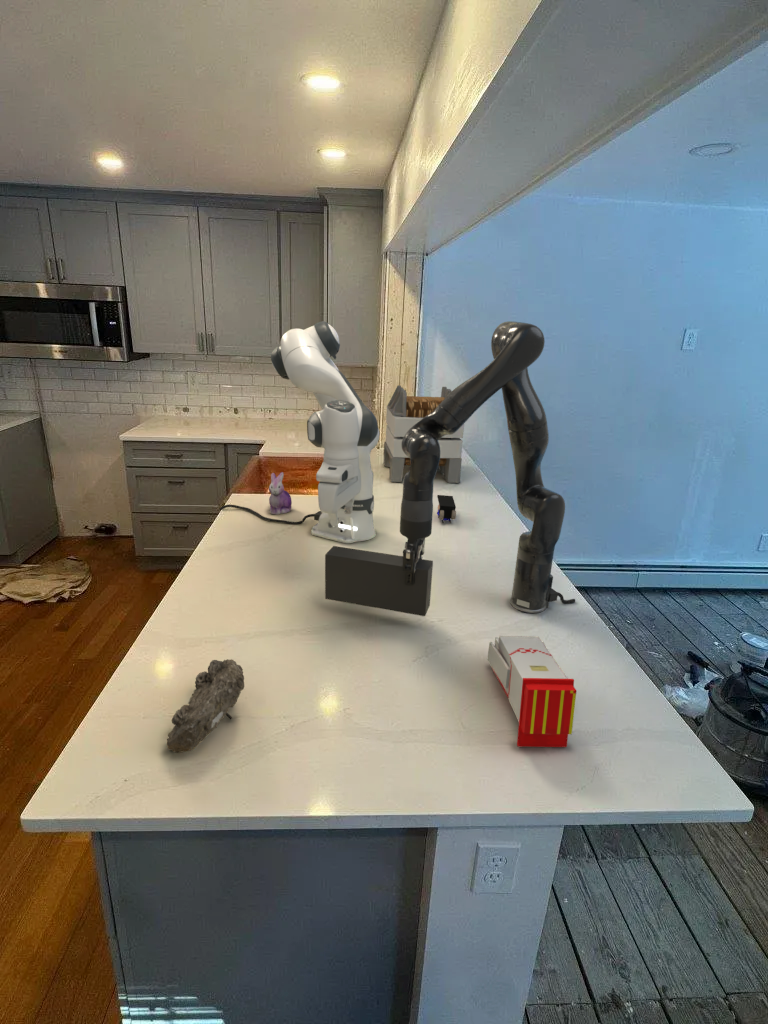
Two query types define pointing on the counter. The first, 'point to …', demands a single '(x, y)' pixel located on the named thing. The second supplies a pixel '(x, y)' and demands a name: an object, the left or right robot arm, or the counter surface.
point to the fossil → (206, 705)
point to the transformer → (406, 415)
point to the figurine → (278, 496)
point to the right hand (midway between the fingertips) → (412, 579)
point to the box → (376, 580)
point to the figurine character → (446, 508)
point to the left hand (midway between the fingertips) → (341, 519)
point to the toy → (534, 690)
